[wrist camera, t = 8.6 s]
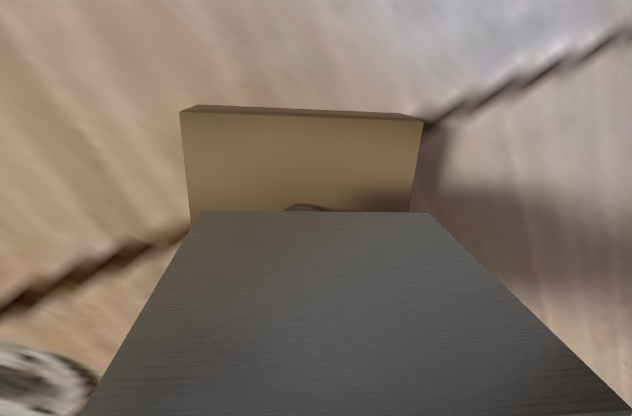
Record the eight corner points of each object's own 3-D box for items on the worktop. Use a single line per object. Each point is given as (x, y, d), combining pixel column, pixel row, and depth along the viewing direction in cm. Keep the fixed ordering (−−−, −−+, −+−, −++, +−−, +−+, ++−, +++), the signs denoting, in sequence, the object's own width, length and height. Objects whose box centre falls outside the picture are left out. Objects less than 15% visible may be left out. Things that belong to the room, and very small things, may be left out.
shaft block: (197, 104, 15) (100, 143, 7) (400, 113, 17) (518, 155, 8) (212, 280, 19) (160, 436, 11) (376, 277, 20) (440, 418, 12)
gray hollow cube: (201, 210, 9) (59, 446, 3) (428, 212, 9) (633, 410, 4) (216, 381, 11) (152, 682, 6) (396, 373, 12) (495, 634, 6)
